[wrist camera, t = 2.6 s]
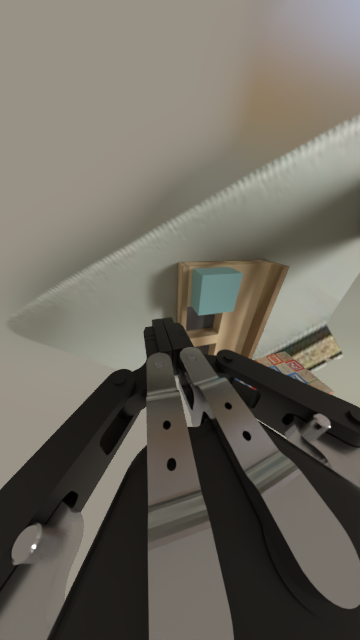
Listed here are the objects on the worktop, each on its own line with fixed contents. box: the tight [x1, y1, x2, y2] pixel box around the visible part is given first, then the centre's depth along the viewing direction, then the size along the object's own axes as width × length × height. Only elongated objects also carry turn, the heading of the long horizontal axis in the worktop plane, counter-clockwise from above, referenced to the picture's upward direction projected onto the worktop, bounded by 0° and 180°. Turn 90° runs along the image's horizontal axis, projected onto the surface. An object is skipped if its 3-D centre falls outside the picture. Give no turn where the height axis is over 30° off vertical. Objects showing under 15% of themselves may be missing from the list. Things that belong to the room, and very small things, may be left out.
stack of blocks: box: [235, 351, 334, 395], centre depth 35 cm, size 21×6×12 cm, turn 95°
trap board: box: [177, 260, 290, 359], centre depth 26 cm, size 14×22×4 cm, turn 178°
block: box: [191, 267, 243, 316], centre depth 19 cm, size 5×5×3 cm
